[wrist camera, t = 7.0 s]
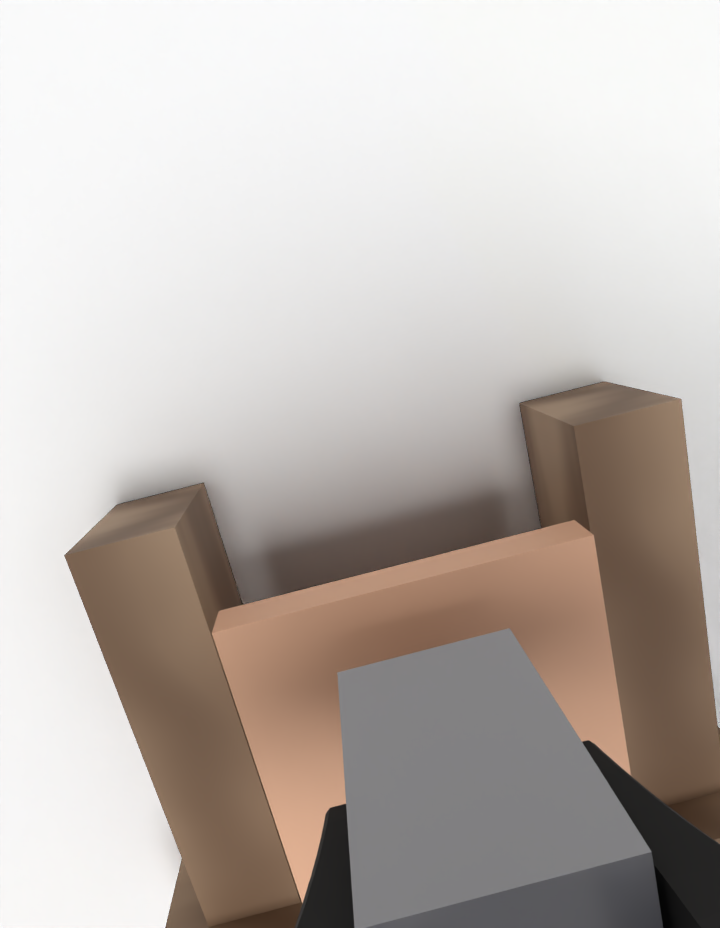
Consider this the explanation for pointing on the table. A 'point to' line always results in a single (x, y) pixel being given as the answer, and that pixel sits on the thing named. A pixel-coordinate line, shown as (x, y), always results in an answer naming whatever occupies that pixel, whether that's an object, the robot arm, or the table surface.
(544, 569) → the trapdoor
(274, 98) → the table surface
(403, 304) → the table surface
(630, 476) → the frame
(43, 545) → the table surface
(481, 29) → the table surface
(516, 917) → the stone
